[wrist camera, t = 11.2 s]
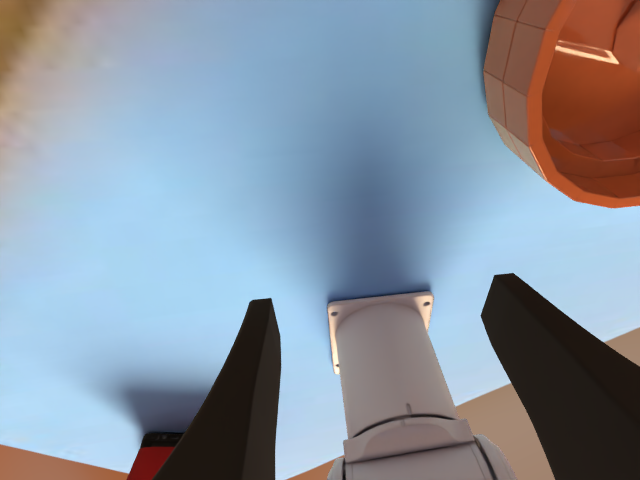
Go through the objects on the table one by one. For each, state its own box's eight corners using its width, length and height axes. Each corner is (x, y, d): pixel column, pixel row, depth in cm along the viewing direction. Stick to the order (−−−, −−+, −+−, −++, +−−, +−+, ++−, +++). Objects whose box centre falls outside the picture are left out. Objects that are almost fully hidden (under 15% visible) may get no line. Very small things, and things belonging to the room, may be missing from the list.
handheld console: (147, 459, 42) (125, 540, 36) (143, 414, 36) (115, 504, 30) (255, 460, 45) (250, 536, 39) (268, 420, 38) (265, 503, 32)
